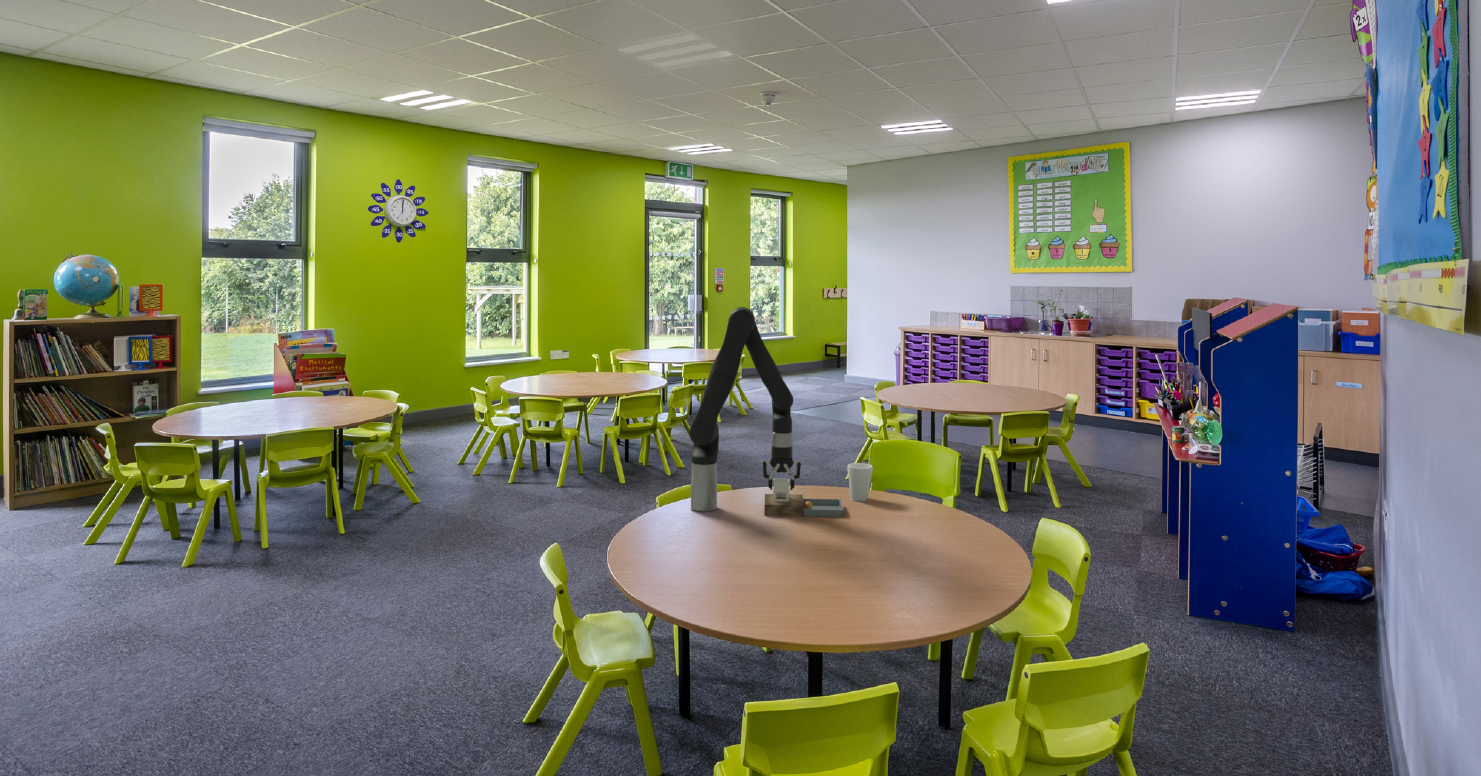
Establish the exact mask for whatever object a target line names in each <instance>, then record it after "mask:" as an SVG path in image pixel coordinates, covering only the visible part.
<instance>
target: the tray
mask: <svg viewBox="0 0 1481 776" xmlns="http://www.w3.org/2000/svg"><path fill="white" fill-rule="evenodd" d="M803 500H804V504H805V503H806V502H807V501H809V502H811V503H812V505H813V506H812V508H811V509H806V508H805V507H804V516H803V517H820V518H821V517H824V518H825V517H827V518H828V517H830V518H833V517H835V518H839V517H840V518H843V517H845V508H844V505H843V502H842V500H841V498H803Z"/></svg>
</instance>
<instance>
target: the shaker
mask: <svg viewBox="0 0 1481 776" xmlns="http://www.w3.org/2000/svg"><path fill="white" fill-rule="evenodd" d="M772 491H773V492H772V494H773V501H779V502H789V494H790V478H773V481H772ZM776 498H786V499H776Z"/></svg>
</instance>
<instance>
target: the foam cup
mask: <svg viewBox="0 0 1481 776" xmlns="http://www.w3.org/2000/svg"><path fill="white" fill-rule="evenodd" d="M873 467H874V466H873V465H872V464H869V463H864V462H853V463H848V464H847V471H846V472H847V475H848V485H849V494H850V495H849V496H850V499H851V501H855V502H867V501H868V499H869V493H870V487H871V482H872V481H871V480H872V474H873V469H874V468H873Z"/></svg>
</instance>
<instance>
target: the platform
mask: <svg viewBox="0 0 1481 776" xmlns="http://www.w3.org/2000/svg"><path fill="white" fill-rule="evenodd" d="M776 499H786V498H776ZM803 499H804V495H803V494H797V493H795V494H792V493H791V494H790V493H789V502H779V501H773V493H764V515H763V516H769V517H771V516H772V517H775V516H777V517H778V516H779V517H805V516H804V500H803Z"/></svg>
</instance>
